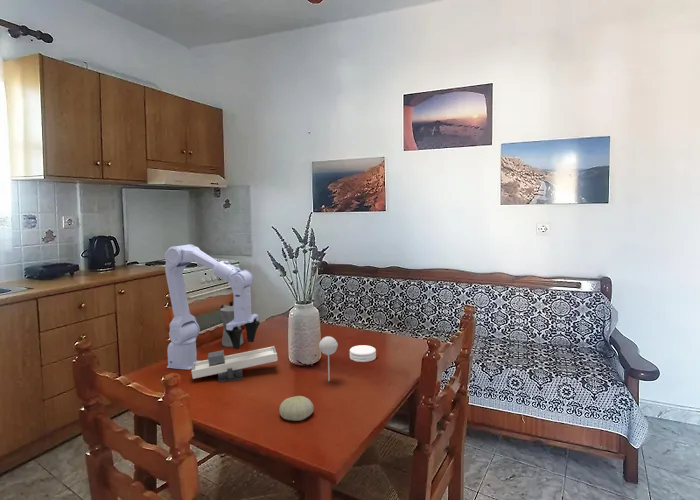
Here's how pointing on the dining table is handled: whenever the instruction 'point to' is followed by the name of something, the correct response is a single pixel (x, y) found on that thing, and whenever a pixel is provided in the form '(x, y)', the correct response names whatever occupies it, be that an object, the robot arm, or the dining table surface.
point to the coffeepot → (227, 317)
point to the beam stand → (230, 375)
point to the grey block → (216, 358)
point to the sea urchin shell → (296, 408)
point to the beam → (235, 362)
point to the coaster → (362, 353)
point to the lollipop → (328, 348)
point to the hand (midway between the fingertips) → (243, 345)
